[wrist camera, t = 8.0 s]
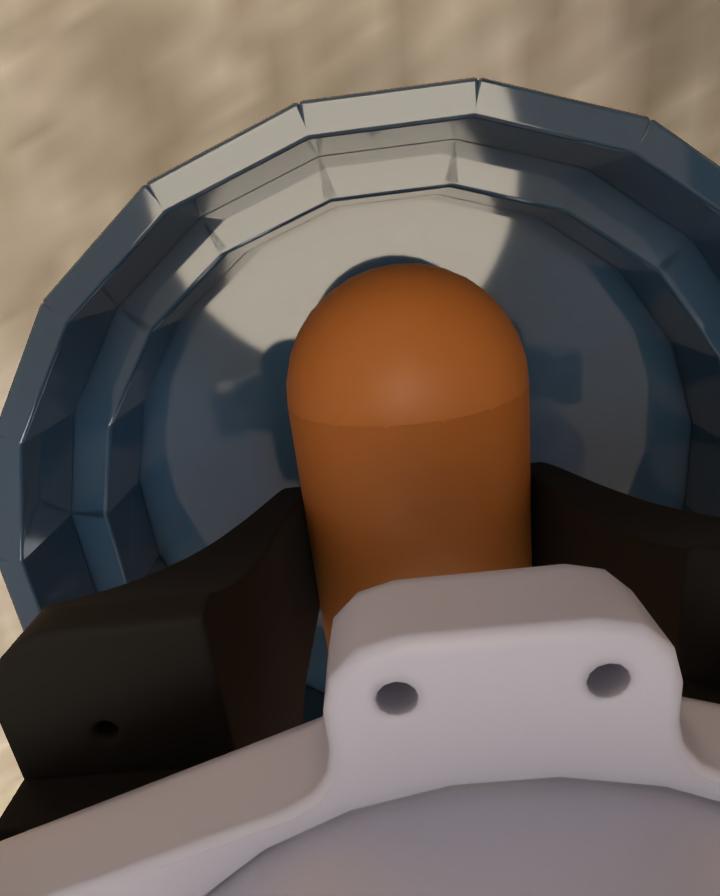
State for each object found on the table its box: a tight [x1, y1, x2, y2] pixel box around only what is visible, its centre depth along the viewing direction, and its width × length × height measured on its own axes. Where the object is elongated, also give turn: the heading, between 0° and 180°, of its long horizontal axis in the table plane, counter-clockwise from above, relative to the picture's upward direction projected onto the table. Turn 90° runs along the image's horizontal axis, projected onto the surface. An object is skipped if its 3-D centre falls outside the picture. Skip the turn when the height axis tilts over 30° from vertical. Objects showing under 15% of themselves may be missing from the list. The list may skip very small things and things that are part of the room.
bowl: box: [0, 78, 720, 724], centre depth 13 cm, size 16×16×4 cm
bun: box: [286, 263, 532, 650], centre depth 12 cm, size 11×5×5 cm, turn 6°
